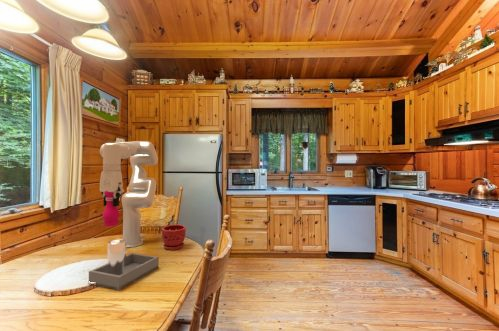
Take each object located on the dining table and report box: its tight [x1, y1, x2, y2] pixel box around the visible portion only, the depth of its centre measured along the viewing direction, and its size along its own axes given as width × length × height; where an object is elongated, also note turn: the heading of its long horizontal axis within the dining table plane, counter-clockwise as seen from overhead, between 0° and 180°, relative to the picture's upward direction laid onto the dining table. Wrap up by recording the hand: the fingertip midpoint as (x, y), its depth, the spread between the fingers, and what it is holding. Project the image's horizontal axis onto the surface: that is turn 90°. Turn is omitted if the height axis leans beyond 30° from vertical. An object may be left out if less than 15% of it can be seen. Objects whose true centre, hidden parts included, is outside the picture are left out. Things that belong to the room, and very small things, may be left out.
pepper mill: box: [102, 191, 121, 227], centre depth 119 cm, size 7×7×20 cm
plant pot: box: [161, 224, 187, 251], centre depth 142 cm, size 13×13×12 cm
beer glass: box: [106, 238, 127, 275], centre depth 101 cm, size 7×7×15 cm
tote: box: [88, 252, 160, 291], centre depth 105 cm, size 22×15×5 cm
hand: (111, 205), depth 119 cm, fingers closed on pepper mill, 5 cm apart
